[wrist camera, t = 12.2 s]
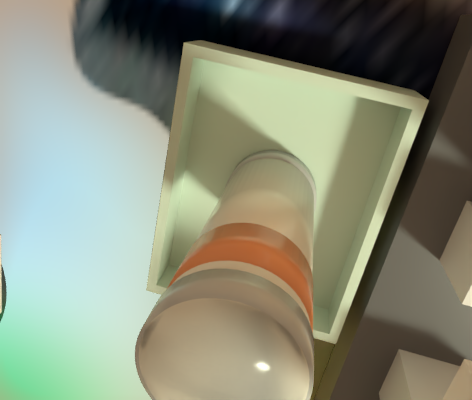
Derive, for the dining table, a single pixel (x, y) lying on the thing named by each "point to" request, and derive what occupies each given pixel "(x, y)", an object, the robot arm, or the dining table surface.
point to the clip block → (418, 260)
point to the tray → (291, 141)
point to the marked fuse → (241, 295)
